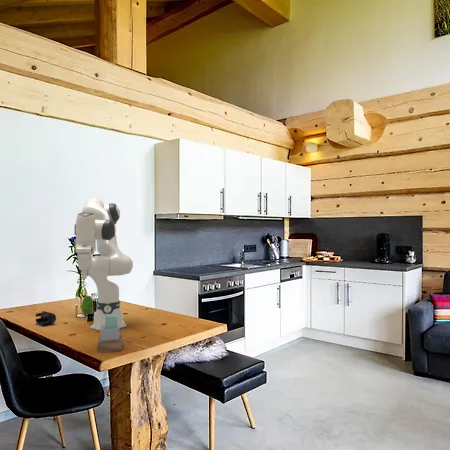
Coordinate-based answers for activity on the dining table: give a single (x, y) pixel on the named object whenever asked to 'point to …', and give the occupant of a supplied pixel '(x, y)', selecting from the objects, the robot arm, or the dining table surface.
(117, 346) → the tower base
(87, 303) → the avocado
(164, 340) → the dining table surface
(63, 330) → the dining table surface
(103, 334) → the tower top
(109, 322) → the teal block
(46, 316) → the end cap
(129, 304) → the dining table surface
